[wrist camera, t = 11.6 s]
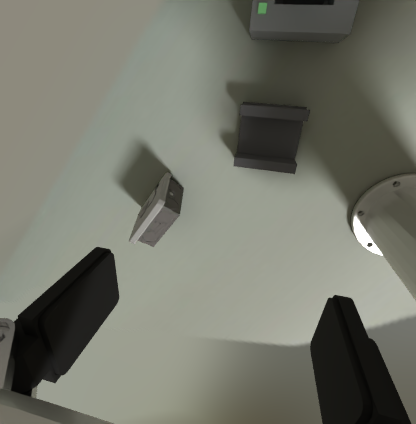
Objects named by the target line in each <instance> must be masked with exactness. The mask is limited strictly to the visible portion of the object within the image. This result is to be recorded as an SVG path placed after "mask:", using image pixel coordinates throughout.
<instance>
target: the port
mask: <svg viewBox="0 0 416 424" xmlns="http://www.w3.org/2000/svg"><path fill="white" fill-rule="evenodd" d="M358 4H359V0H325V1H324V3H323V5H291V4H283V0H253V2H252V10H251V19H250V27H249V32H250V35H251V39H257V40H283V41H309V42H335V43H339V42H340V41H342V40H343V39H344V38H345V37H347V36H348V35H349V34H350V33H351V30H352V26H353V22H354V19H355V15H356V11H357V8H358Z"/></svg>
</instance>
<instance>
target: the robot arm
mask: <svg viewBox="0 0 416 424" xmlns="http://www.w3.org/2000/svg"><path fill="white" fill-rule="evenodd" d="M394 182H395V183H394ZM393 183H394V184H393ZM359 211H360V212H359ZM351 227H352V230H353V233H354V235H355V237H356V238H357V240H358V241H359V242H360V244H361V245H362V246H364V247H365V248H366V249H368V250H369V251H371V252H373V253H376V254H379V255H382V256H384V257H385V259H386V260H387V262H388V263H389V264H390V266H391V267H392V268H393V270H394V271H395V273H396V274H397V275H398V277H399V278H400V280H401V281H402V282H403V284H404V285H405V286H406V288H407V289H408V291H409V292H410V293H411V295H412V296H413V297H414V299H415V300H416V173H414V174H402V175H397V176H393V177H391V178H388V179H385V180H383V181H381V182H379V183H377V184H375V185H374V186H373V187H371V188H370V189H368V190H367V191H366V192H365V193H364V194H363V195H362V196H361V197H360V199H359V200H358V202H357V203H356V205H355V207H354V209H353V212H352V216H351ZM118 300H119V291H118V283H117V275H116V267H115V260H114V254H113V253H111V250H110V249H106V248H101V247H96V248H95V249H93V250H92V251H91V252H90V253H89V254H88V255H87V256H85V257H84V258H83V259H82V260H81V261H80V262H79V263H77V264H76V265H75V266H74V267H73V268H72V269H71V270H69V271H68V272H67V273H66V274H65V275H64V276H63V277H61V278H60V279H59V280H58V281H57V282H56V283H55V284H53V285H52V286H51V287H50V288H49V289H48V290H47V291H45V292H44V293H43V294H42V295H41V296H40V297H39V298H38V299H37V300H35V301H34V302H33V303H32V304H31V305H30V306H28V307H27V308H26V309H25V310H24V311H23V312H22V313H21V314H19V315H18V319H16V321H14V322H13V321H12V320H10V319H7V318H0V424H113V423H110V422H107V421H104V420H101V419H98V418H95V417H92V416H89V415H86V414H83V413H80V412H77V411H73V410H71V409H68V408H65V407H61V406H58V405H55V404H52V403H49V402H46V401H43V400H39V399H36V394H37V385H38V384H39V383H40V382H41V380H42V379H43V380H46V381H50V382H53V383H56V382H57V380H58V379H59V377H60V376H61V375H64V374H66V372H67V371H68V370H69V369H70V368H71V366H72V365H73V363H74V362H75V361H76V359H77V358H78V356H79V355H80V354H81V352H82V351H83V350H84V348H85V347H86V345H87V344H88V343H89V341H90V340H91V339H92V337H93V336H94V335H95V333H96V332H97V331H98V329H99V328H100V326H101V325H102V324H103V322H104V321H105V320H106V318H107V317H108V315H109V314H110V313H111V311H112V310H113V309H114V307H115V306H116V304H117V303H118ZM310 350H311V357H312V362H313V369H314V375H315V381H316V386H317V392H318V398H319V404H320V410H321V416H322V422H323V424H411V422H410V420H409V417H408V415H407V413H406V410H405V408H404V406H403V404H402V401H401V399H400V397H399V394H398V392H397V390H396V388H395V385H394V383H393V381H392V379H391V376H390V374H389V372H388V369H387V367H386V365H385V362H384V360H383V358H382V356H381V353H380V351H379V349H378V346H377V345H376V343H375V341H373V340H372V339H370V338H368V335H367V333H366V330H365V328H364V326H363V323H362V321H361V318H360V316H359V314H358V311H357V309H356V306H355V304H354V302H353V300H352V299H351V298H348V297H343V296H338V295H334V296H333V298H328V300H327V303H326V305H325V308H324V310H323V313H322V315H321V318H320V320H319V323H318V325H317V328H316V330H315V333H314V336H313V338H312V341H311V346H310Z"/></svg>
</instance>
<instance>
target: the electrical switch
mask: <svg viewBox="0 0 416 424" xmlns="http://www.w3.org/2000/svg"><path fill="white" fill-rule="evenodd" d="M171 176H172V174H170V173H168V172H166V173H165V175H164V176H163V178H162V179H161V180H160V182H159V183H158V185H157V186H156V188H155V189H154V190H153V192H152V193H151V195H150V196H149V198H148V199H147V201H146V202H145V203H144V205H143V206H142V208H141V210H140V212H139V214H138V217H137V220H136V223H135V225H134V228H133V231H132V234H131V236H130V239H129V242H131V243H133V244H135V243H136V241H137V240H138V241H141V242H142V243H146V244H148V245H150V246H152V247H154V246H155V245H156V243H157V242H158V241H159V240H160V238H161V237H162V236H163V235H164V234H165V232H166V231H167V230H168V229H169V228H170V226H171V225H172V224H173V223H174V221H175V220H176V219H177V218H178V217H179V214H180V210H181V203H182V196H183V190H184V188H183V187H181V186H180V185H178V184H177V183H176V182H175V181H173V180H171V179H170V178H171ZM175 212H176V213H175ZM177 213H178V214H177ZM156 239H157V240H156Z"/></svg>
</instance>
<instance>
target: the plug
mask: <svg viewBox="0 0 416 424" xmlns="http://www.w3.org/2000/svg"><path fill="white" fill-rule="evenodd" d="M324 1H325V0H283V4H291V5H323V3H324Z"/></svg>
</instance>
